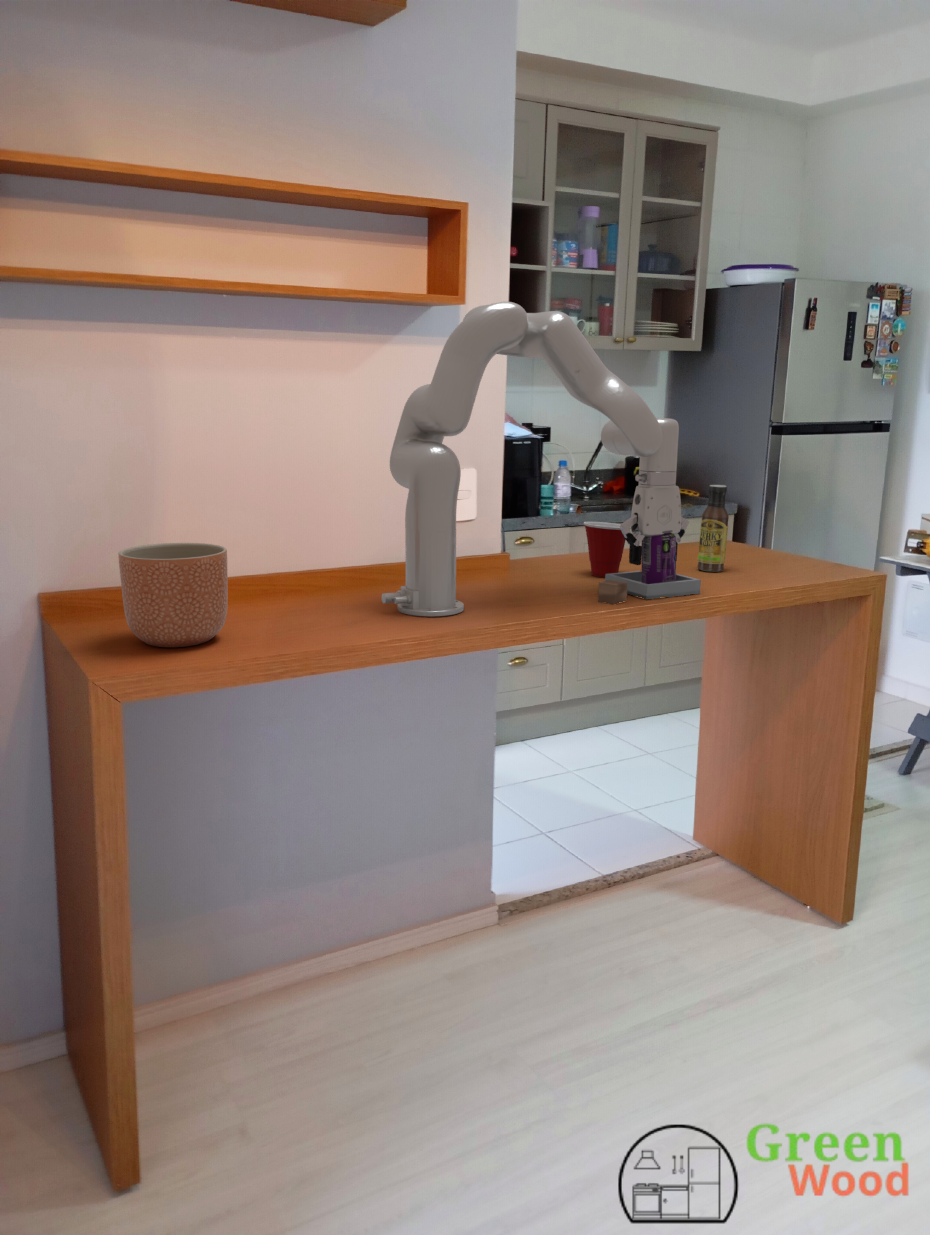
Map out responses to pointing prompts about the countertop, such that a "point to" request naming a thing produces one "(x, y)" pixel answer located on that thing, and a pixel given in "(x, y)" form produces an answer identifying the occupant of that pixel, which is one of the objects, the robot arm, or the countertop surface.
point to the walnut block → (612, 591)
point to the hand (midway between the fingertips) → (652, 562)
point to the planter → (174, 592)
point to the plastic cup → (604, 547)
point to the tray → (656, 585)
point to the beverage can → (659, 558)
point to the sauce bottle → (713, 531)
